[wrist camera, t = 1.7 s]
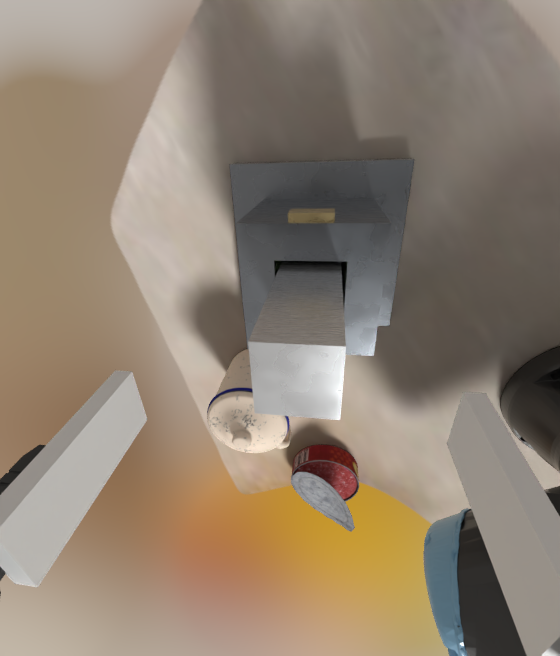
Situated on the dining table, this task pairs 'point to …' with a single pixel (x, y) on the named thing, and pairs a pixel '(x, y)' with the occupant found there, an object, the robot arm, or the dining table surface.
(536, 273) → the dining table surface
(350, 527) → the canned food
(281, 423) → the teacup with lid
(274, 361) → the post
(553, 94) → the dining table surface
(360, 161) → the stand
